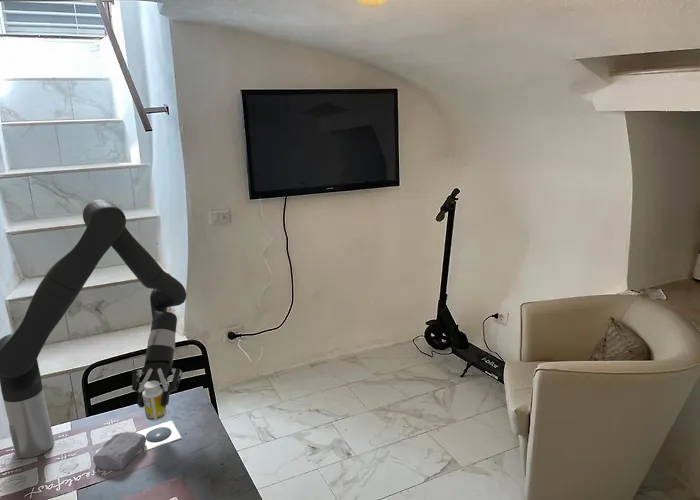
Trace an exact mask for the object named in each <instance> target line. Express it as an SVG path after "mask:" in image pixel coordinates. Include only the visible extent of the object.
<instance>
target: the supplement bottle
mask: <svg viewBox="0 0 700 500" xmlns="http://www.w3.org/2000/svg"><path fill="white" fill-rule="evenodd" d="M163 392H164V389H163V386H160V383H159V382H158V381H149V382H147V383H145V385H144V391H143V393H142V397H143V402H144V407H143V408H144V413H145V417H146V419H147V420H148V421H151V422H156V421H160V420H162V419H163V418H165V417H166V415H167V413H168V412H167V411H168V410H167V406H166V407H162V406H161V401H162V394H163Z"/></svg>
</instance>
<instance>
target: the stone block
mask: <svg viewBox="0 0 700 500" xmlns="http://www.w3.org/2000/svg"><path fill="white" fill-rule="evenodd" d="M145 443H146V437H145V435H143V434H139V433H137V432H131V431H124V432H120V433H117V434H114V435H113V436H112V437H111V438H110V439H109V440H107V441H106V442H105V443H104V444H103V446H102V447H101V448H99V450H98V451H97V452H96V453H95V454H94V455H93V459H92V460H93V463H94V466H95V467H96V468H98V469H101V470H105V471H106V470H111V471H112V470H114V471H115V470H116V471H117V470H118V471H123V470H124V469H125V468H126V467H127V466H128V465H129V463H130V462H131V461H133V459H134V458H135V457H136V456H137V455H138V453H139V452H140V451H141V450H142V449H143V446H144V445H145Z"/></svg>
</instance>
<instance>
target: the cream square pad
mask: <svg viewBox="0 0 700 500" xmlns="http://www.w3.org/2000/svg"><path fill="white" fill-rule="evenodd" d="M136 433H139V434H143V435H145V437H146V443H145V445H144V446H143V448H142V449H143V450H144V452H147V451H149V450H153V449H155V448H158V447H161V446H165V445H167V444H170V443H173V442H175V441H178V440H180V439H182V436H181V435H180V432H179V431H178V429H177V428H176V425H175V424H174V422H173V420H169V421H166V422H163V423H160V424H157V425H154V426H150V427H148V428H144V429H142V430H138V431H136Z"/></svg>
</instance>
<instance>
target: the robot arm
mask: <svg viewBox="0 0 700 500" xmlns="http://www.w3.org/2000/svg"><path fill="white" fill-rule="evenodd" d="M82 219H83V220H82V221H83V222H84V224H85V226H86V229H85V230H84V232H83V234H81V237H80V239H79V240H78V242H77V243H76V244H75V245H74V247H73V248H72V249H71V250H70V251H69V252H68V253H66V254H65V255H64V256H63V257H61V258H60V259H59V260H58V261H57V262H55V264H53V265H52V266H51V267H50V269H49V270H48V271H47V273H46V274H45V275H44V277H43V279H41V281H40V283H39V284H38V286H37V287H36V290H35V291H34V293H33V297H32V298H31V300H30V303H29V305H28V307H27V310H26V312H25V315H24V316H23V319H22V321H21V323H20V325H19V326H18V327H17V329H16V330H15V332H14V333H10V334H6V335H4V336H3V337H1V338H0V391H1V396H2V399H3V403H4V404H3V405H4V407H5V412H6V417H7V421H8V426H9V433H10V437H11V441H12V446H13V449H14V454H15V458H16V460H19V459H29V458H34V457H37V456H41V455H42V454H45V453H47V452H48V451H49V450H50V449H51V448H52V447H53V446H54V444H55V439H54V434H53V429H52V425H51V424H52V423H51V420H50V416H49V412H48V411H49V410H48V408H47V402H46V401H47V400H46V397H45V392H44V386H43V383H42V377H41V372H40V371H41V370H40V366H39V362H38V357H39V355H40V353H41V351H42V349H43V347H44V346H45V343H46V342H47V340H48V338H49V336H50V335H51V333H52V332H53V330H54V329H55V328H56V326H57V325H58V324H59V323H60V321H61V320H62V318H63V317H64V315H65V314H66V312H67V311H68V310H69V309H70V307H71V305H72V304H73V303H74V302H75V300H76V299H77V297H78V295H79V294H80V292H81V290H82V289H83V288H84V286H85V284H86V283H87V281H88V279H89V278H90V276H91V275H92V273H93V272H94V270H95V269H96V267H97V266H98V264H99V262H100V261H101V259H102V258H103V256H104V255H105V254H106V253H107V252H108V250H110V248H111V247H112V249H113V250H114V251H115V252H116V253H117V255H118V256H119V257H120V258H121V260H122V261H123V262H124V263H125V265H126V266H127V268H129V270H130V271H131V272H132V273H133V275H134V276H135V277H136V279H137V280H139V282H140V283H141V285H142V286H144V287H145V288H146V289H150V290H151V289H152V290H151V292H150V294H149V303H150V310H151V317H152V320H151V327H150V333H149V335H148V340H147V346H146V352H145V358H144V359H145V360H144V366H143V367H142V369H141V368H140V369H132V370H131V380H132V381H131V383H132V384H131V389H132V391H134V392H136V393H137V394H138V396H137V399H136V404H137V406H138V407H139V408H141V409H142V408H144V402H143V397H142V393H143V391H144V385H145V383H147V382H149V381H158V382H159V384H161V385H162V386H161V387H162V388H163V394H162V401H161V406H162V407H166V408H167V405H169V402H170V395H171V393H172V392H177V391H178V388H179V384H180V382H181V379H182V375H183V370H181V369H180V368H178V367H177V368H174V367H173V363H174V354H175V348H176V332H177V326H178V325H177V323H178V317H177V315H176V313H173V312H170V311H168V308H172V307H177V306H181V305H183V304H184V303H185V301H186V299H187V290H186V288H185V286H184V285H183V284H182V283H181V282H180V281H179V280H178V279H176V278H175V277H173V276H172V275H171V274H170V273H167V272H166V271H164V270H163V268H162V267H161V265H159V263H158V262H157V260H155V258H154V257H153V256H152V255H151V254H150V253H149V252H148V251H147V249H146V248H144V247H143V245H142V244H141V243H140V242H139V241H138V240H137V239H136V238H135V237H134V236H133V235H132V234H131V232H130V231H129V230H128V229H127V227H126V225H127V219H126V215H125V213H124V211H123V210H122V209H120V208H119V207H118V206H117V205H115V204H114V203H112V201H108V200H107V199H95V200H91V201H90V202H88V203H87V204H86V205H85V207H84V208H83V211H82ZM142 375H143V376H144V377H143V379H142V381H141V382H140V378H141V377H142ZM171 375H172V377H173V379H172V380H171V384H170V383H169V379H168V378H170V376H171ZM140 383H141V385H140Z"/></svg>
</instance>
